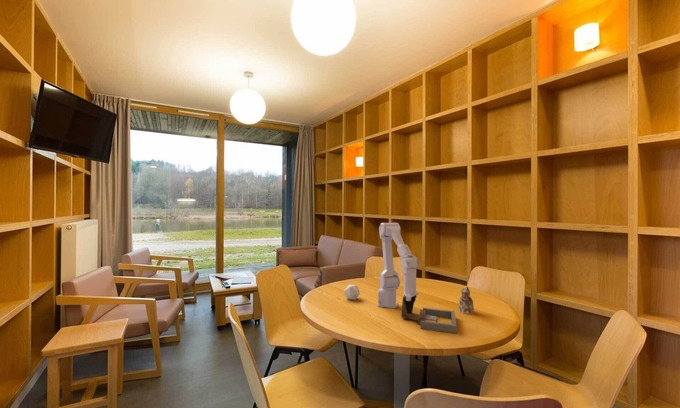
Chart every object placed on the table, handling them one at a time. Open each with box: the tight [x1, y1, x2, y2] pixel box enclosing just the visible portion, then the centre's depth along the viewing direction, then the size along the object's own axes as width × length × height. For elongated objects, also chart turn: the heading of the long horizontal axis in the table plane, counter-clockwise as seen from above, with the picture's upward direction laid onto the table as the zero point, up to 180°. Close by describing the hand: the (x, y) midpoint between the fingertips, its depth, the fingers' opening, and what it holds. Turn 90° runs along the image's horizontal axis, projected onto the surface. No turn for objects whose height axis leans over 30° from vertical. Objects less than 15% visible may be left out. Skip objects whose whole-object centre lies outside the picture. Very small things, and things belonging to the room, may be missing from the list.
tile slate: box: [425, 315, 437, 322], centre depth 138 cm, size 5×5×2 cm
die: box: [343, 284, 361, 301], centre depth 168 cm, size 8×9×10 cm
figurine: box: [457, 286, 475, 315], centre depth 149 cm, size 7×7×12 cm
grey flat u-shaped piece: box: [420, 307, 458, 334], centre depth 134 cm, size 14×19×3 cm
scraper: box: [400, 295, 426, 325], centre depth 138 cm, size 10×11×9 cm
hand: (409, 311), depth 138 cm, fingers closed on scraper, 3 cm apart
